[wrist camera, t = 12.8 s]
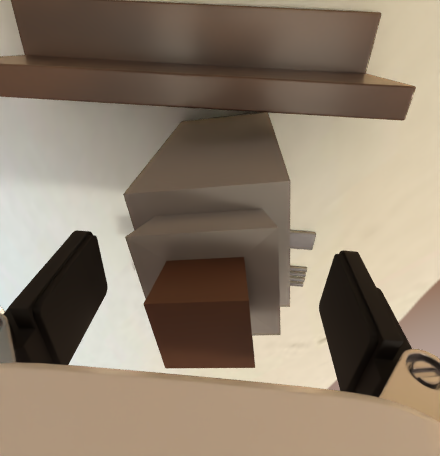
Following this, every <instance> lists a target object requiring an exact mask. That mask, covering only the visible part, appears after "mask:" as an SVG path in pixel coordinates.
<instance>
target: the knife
mask: <svg viewBox="0 0 440 456" xmlns="http://www.w3.org/2000/svg"><path fill="white" fill-rule="evenodd" d="M315 237H316V233H315V232H305V231H291V230H290V248H294V249H307V250H312V249H313V245H314V241H315Z"/></svg>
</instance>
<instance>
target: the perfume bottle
mask: <svg viewBox="0 0 440 456" xmlns="http://www.w3.org/2000/svg"><path fill="white" fill-rule="evenodd" d="M123 195H124V198H125V201H126V204H127V208H128V211H129V214H130V217H131V221H132V224H133V227H134V230H135V231H133V232H132V233H130V234H129V235H127V236H126V237H125V238H126V241H127V244H128V247H129V250H130V253H131V256H132V259H133V262H134V265H135V268H136V271H137V274H138V277H139V280H140V283H141V286H142V289H143V292H144V295H145V298H146V300H145V302H144V307H145V310H146V313H147V315H148V318H149V321H150V324H151V327H152V330H153V333H154V336H155V339H156V342H157V345H158V348H159V351H160V354H161V357H162V359H163V362H164V365H165V368H255V362H254V351H253V340H252V335H280V307H290V179H289V176H288V172H287V169H286V166H285V163H284V160H283V157H282V154H281V151H280V148H279V145H278V142H277V139H276V136H275V132H274V129H273V126H272V123H271V120H270V117H269V114H268V112H264V113H254V114H245V115H236V116H226V117H217V118H208V119H198V120H189V121H182V122H181V123H180V124H179V125H178V127H177V128H176V129H175V130H174V132H173V133H172V134H171V135H170V137H169V138H168V139H167V140H166V142H165V143H164V144H163V145H162V147H161V148H160V149H159V150H158V152H157V153H156V154H155V155H154V157H153V158H152V159H151V160H150V162H149V163H148V164H147V165H146V167H145V168H144V169H143V170H142V172H141V173H140V174H139V175H138V177H137V178H136V179H135V180H134V182H133V183H132V184H131V185H130V187H129V188H128V189H127V190H126V192H125V193H124V194H123Z"/></svg>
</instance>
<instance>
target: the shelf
mask: <svg viewBox="0 0 440 456" xmlns="http://www.w3.org/2000/svg"><path fill="white" fill-rule="evenodd" d="M11 2H12V6H13V10H14V14H15V18H16V22H17V26H18V30H19V34H20V38H21V41H22V45H23V49H24V53H25V55H17V56H0V97H17V98H34V99H51V100H67V101H84V102H101V103H118V104H135V105H152V106H168V107H185V108H202V109H219V110H236V111H252V112H269V113H286V114H303V115H320V116H336V117H353V118H370V119H387V120H405V118H406V115H407V112H408V109H409V106H410V103H411V100H412V98H413V95H414V92H415V89H416V87H415V86H412V85H408V84H404V83H400V82H396V81H392V80H389V79H385V78H381V77H377V76H373V75H369V74H366V70H367V67H368V63H369V59H370V55H371V52H372V48H373V44H374V40H375V36H376V33H377V29H378V25H379V21H380V18H381V13H379V12H358V11H336V10H315V9H294V8H272V7H251V6H229V5H208V4H186V3H165V2H144V1H122V0H11Z"/></svg>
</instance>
